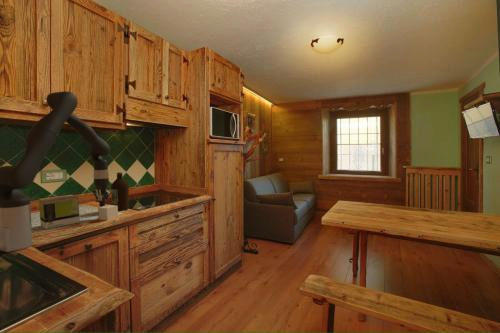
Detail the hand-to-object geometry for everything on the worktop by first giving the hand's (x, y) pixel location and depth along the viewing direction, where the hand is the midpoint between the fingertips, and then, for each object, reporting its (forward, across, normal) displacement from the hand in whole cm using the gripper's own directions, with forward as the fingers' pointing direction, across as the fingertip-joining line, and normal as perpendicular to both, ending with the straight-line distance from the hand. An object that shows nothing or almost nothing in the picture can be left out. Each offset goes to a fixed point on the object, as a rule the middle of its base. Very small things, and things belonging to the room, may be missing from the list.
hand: (102, 206), depth 142 cm
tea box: (+7, -8, -18) cm, 21 cm away
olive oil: (+7, -7, +18) cm, 21 cm away
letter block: (+3, +1, 0) cm, 3 cm away
